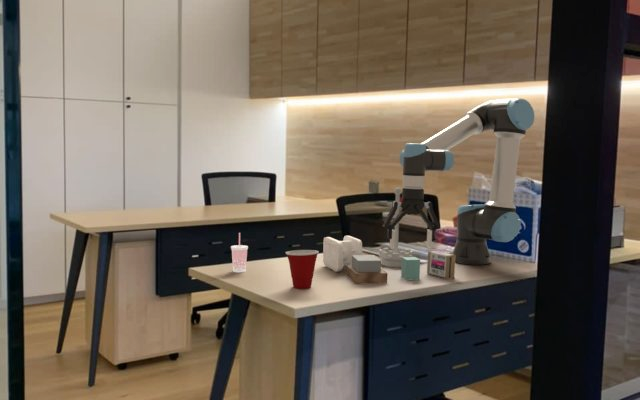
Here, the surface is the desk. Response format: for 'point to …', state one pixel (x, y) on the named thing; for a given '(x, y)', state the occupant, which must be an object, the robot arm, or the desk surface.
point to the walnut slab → (366, 276)
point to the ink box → (441, 264)
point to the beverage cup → (239, 257)
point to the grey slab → (366, 263)
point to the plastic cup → (302, 267)
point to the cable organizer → (340, 252)
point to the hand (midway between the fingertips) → (410, 248)
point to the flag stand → (395, 244)
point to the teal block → (410, 268)
